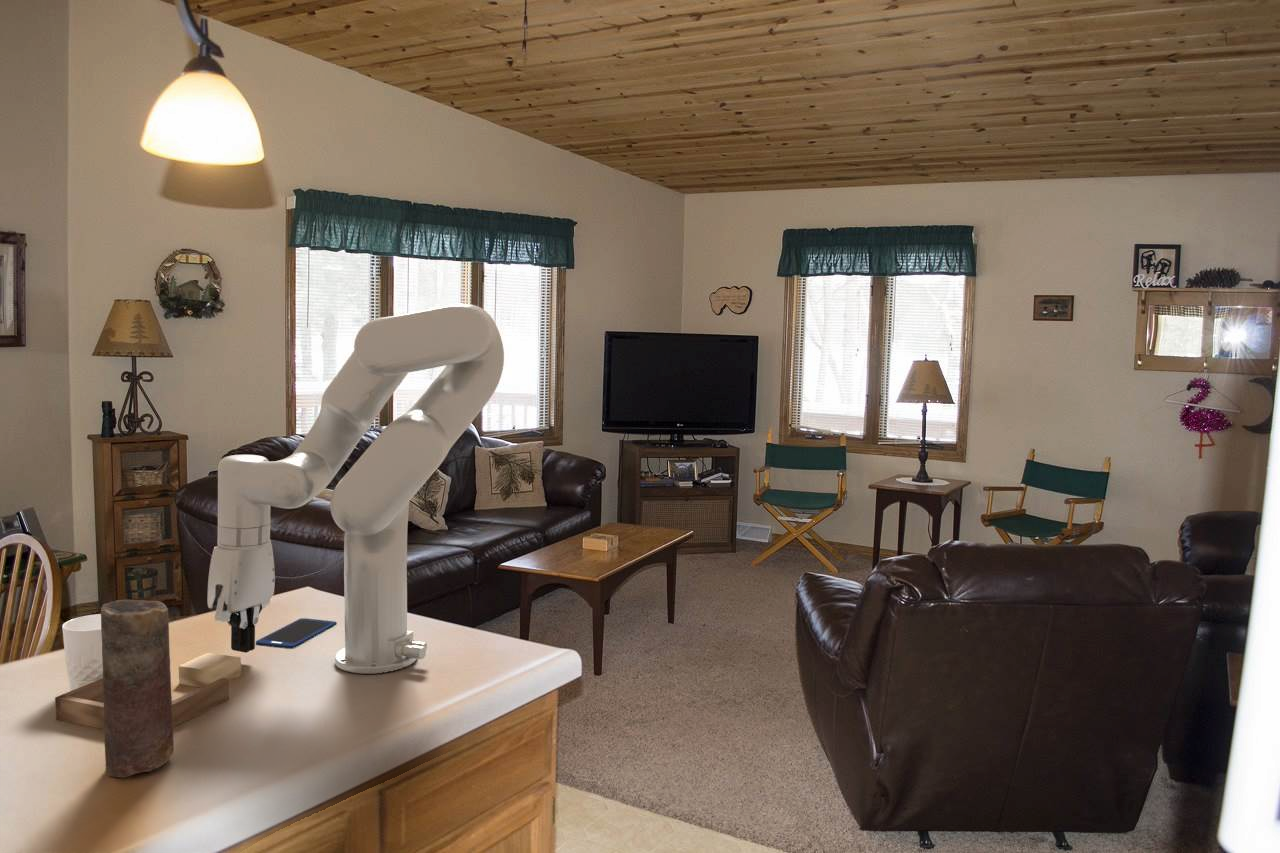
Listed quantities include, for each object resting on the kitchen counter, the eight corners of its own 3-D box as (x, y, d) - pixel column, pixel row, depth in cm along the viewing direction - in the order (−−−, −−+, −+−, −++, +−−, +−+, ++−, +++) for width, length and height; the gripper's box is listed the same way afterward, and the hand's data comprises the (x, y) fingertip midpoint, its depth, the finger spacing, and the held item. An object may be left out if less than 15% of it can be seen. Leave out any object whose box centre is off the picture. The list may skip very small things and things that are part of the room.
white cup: (100, 702, 135) (97, 632, 134) (51, 696, 136) (48, 628, 135) (140, 681, 142) (137, 616, 141) (93, 676, 144) (91, 611, 143)
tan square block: (241, 676, 146) (240, 657, 146) (213, 690, 140) (212, 671, 140) (208, 671, 148) (207, 652, 147) (179, 685, 142) (178, 665, 142)
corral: (229, 699, 137) (228, 678, 136) (149, 738, 124) (148, 716, 123) (141, 682, 142) (141, 663, 142) (56, 719, 129) (55, 697, 128)
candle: (123, 751, 120) (117, 594, 118) (184, 750, 120) (179, 594, 118) (93, 781, 112) (86, 613, 110) (159, 780, 113) (153, 613, 111)
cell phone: (253, 646, 159) (253, 641, 159) (301, 621, 173) (301, 617, 173) (293, 650, 158) (293, 646, 158) (338, 625, 171) (338, 621, 171)
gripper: (258, 523, 157) (257, 632, 159) (187, 541, 143) (187, 660, 145) (296, 529, 155) (294, 639, 157) (228, 548, 141) (227, 669, 143)
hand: (242, 649), depth 151 cm, fingers closed
